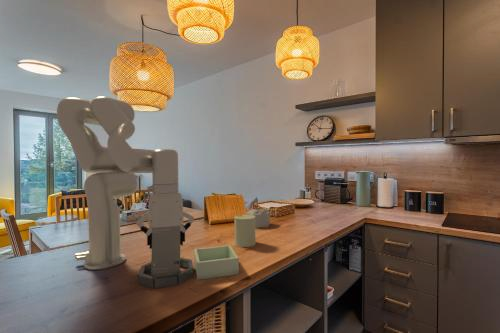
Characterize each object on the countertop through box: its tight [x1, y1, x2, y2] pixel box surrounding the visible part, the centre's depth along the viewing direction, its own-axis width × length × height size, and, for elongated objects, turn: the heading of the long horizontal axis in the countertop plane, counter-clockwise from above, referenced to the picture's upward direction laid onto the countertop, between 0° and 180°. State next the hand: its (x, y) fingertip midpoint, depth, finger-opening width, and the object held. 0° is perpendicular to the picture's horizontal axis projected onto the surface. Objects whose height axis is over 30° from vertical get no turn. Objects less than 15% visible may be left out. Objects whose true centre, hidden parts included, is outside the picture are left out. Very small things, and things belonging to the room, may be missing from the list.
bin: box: [193, 244, 240, 281], centre depth 80 cm, size 13×13×5 cm
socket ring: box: [137, 256, 194, 289], centre depth 76 cm, size 15×15×2 cm
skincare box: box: [150, 226, 181, 277], centre depth 76 cm, size 8×7×16 cm
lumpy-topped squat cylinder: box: [245, 208, 271, 229], centre depth 136 cm, size 10×13×9 cm
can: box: [233, 214, 257, 248], centre depth 105 cm, size 9×9×12 cm
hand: (166, 245), depth 76 cm, fingers closed on skincare box, 8 cm apart
